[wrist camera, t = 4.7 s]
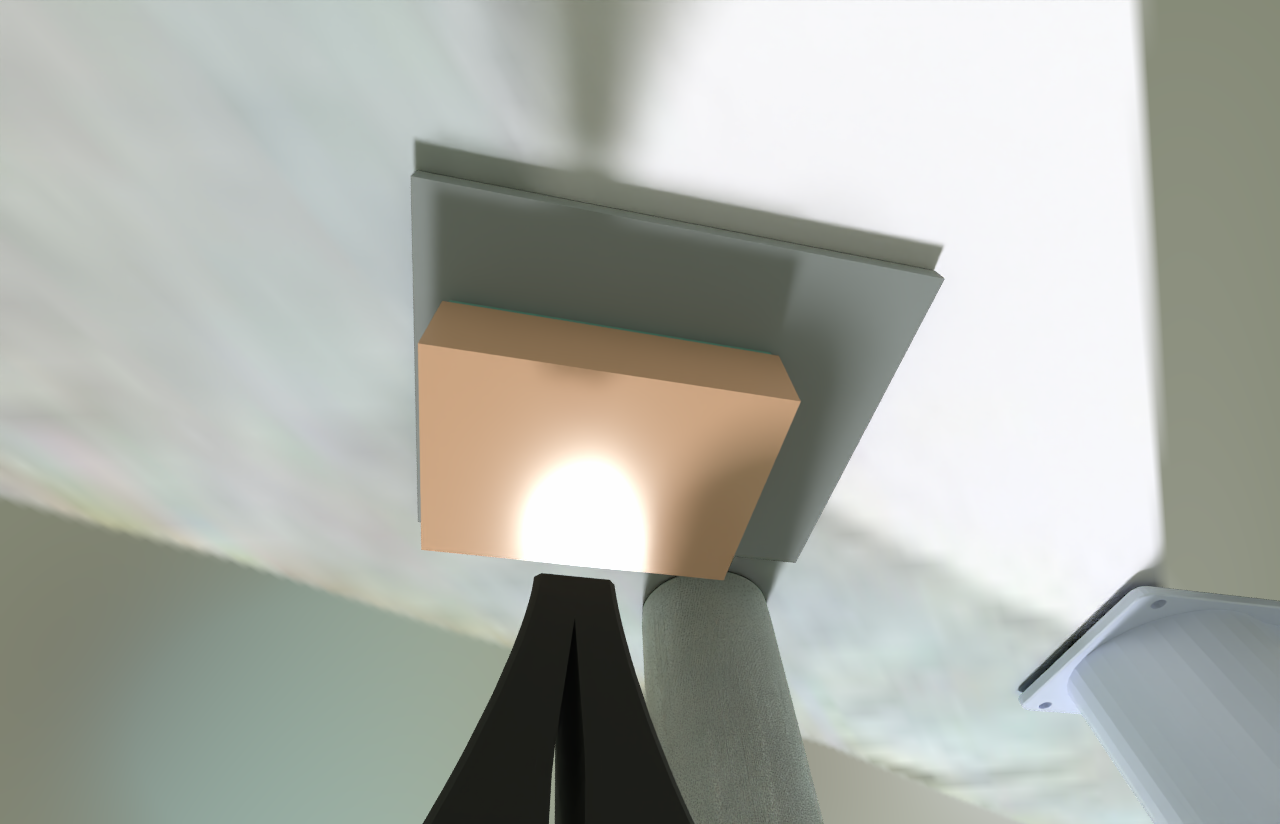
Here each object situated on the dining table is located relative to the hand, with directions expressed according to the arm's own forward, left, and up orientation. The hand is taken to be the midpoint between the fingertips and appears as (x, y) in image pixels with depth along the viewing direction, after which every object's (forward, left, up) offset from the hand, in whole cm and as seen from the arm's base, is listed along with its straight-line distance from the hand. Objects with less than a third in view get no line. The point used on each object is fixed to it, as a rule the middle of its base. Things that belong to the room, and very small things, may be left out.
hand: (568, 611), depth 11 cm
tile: (-4, 0, -5) cm, 6 cm away
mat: (-2, 0, -6) cm, 7 cm away
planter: (-6, +8, -7) cm, 12 cm away
